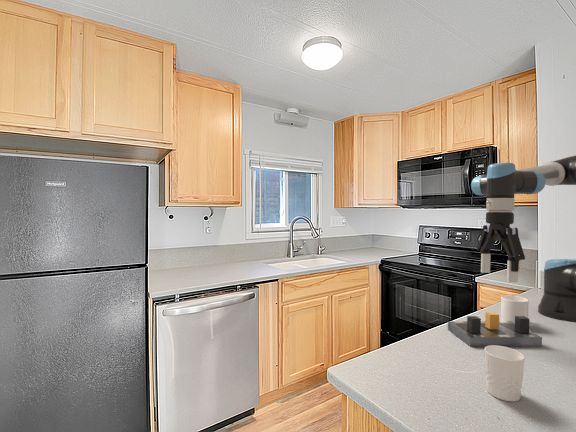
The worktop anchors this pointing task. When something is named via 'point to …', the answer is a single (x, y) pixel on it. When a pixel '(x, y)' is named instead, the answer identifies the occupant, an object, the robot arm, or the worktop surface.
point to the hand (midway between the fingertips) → (497, 277)
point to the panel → (495, 333)
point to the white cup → (504, 372)
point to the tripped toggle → (492, 320)
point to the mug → (513, 307)
